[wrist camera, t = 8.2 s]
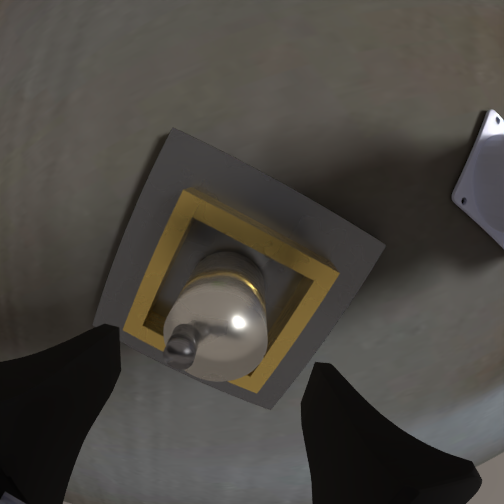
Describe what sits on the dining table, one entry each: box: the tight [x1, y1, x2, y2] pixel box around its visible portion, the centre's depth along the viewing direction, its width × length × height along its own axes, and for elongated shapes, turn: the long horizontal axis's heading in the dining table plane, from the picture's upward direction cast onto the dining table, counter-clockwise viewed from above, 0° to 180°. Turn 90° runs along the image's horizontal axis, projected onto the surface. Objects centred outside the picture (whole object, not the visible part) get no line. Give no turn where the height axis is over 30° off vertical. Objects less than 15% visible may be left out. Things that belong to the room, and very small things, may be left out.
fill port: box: [93, 128, 386, 410], centre depth 18 cm, size 14×14×3 cm
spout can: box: [163, 252, 268, 382], centre depth 15 cm, size 4×4×8 cm
